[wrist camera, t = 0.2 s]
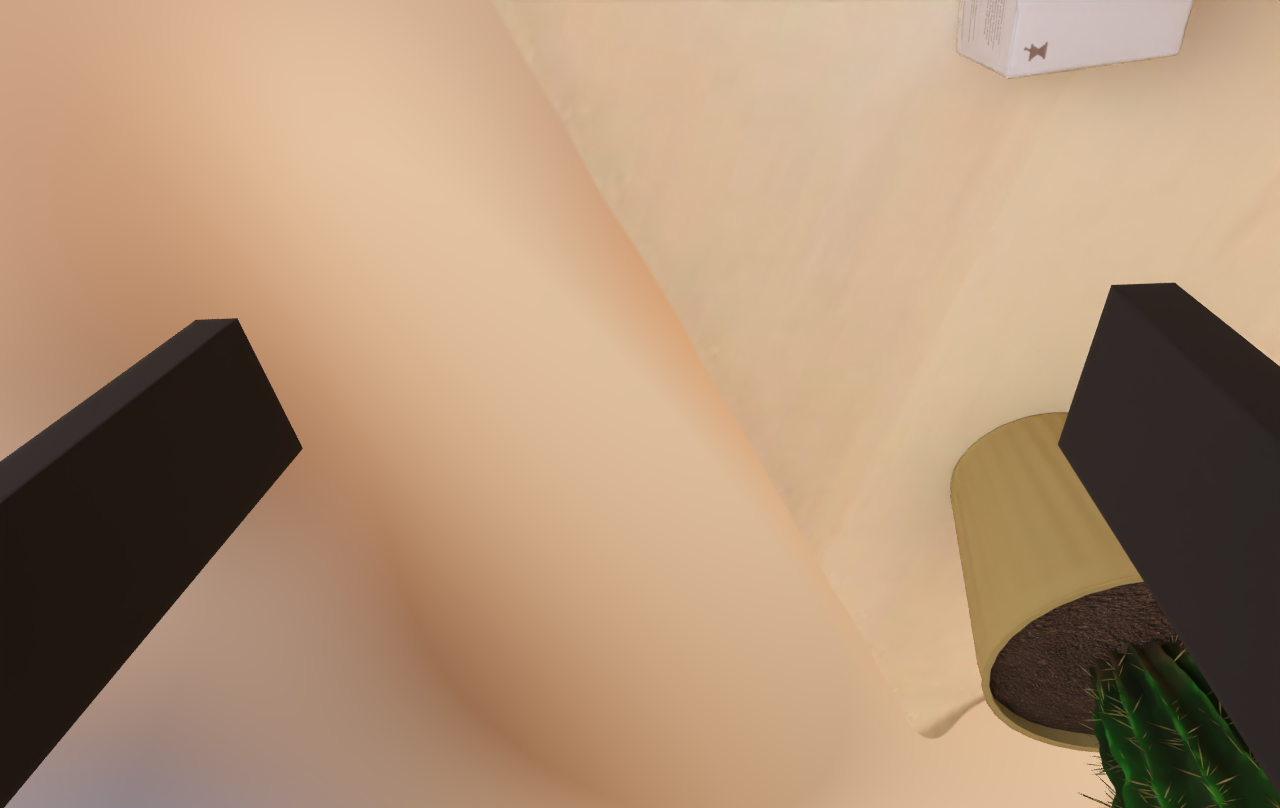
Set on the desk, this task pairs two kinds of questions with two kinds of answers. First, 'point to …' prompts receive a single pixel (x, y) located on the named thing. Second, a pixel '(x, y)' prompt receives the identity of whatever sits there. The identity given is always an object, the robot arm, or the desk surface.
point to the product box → (1068, 33)
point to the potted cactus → (1085, 633)
